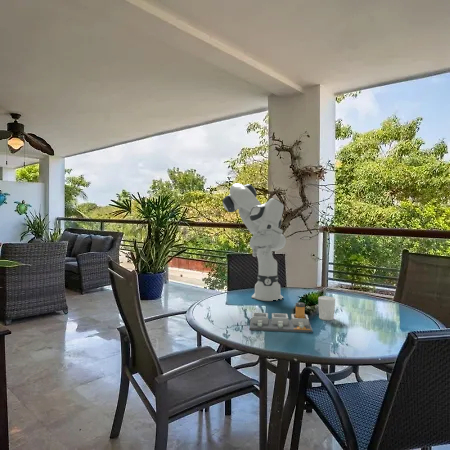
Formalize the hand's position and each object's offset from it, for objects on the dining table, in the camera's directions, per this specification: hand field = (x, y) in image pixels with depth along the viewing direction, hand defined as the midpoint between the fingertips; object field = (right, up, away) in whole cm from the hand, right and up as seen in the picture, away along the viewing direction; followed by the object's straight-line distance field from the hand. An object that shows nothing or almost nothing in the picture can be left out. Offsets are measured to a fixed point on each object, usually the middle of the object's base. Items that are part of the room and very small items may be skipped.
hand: (259, 256), depth 171 cm
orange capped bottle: (+18, -30, -8) cm, 36 cm away
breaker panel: (+8, -31, -10) cm, 33 cm away
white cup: (+33, -31, +3) cm, 45 cm away
